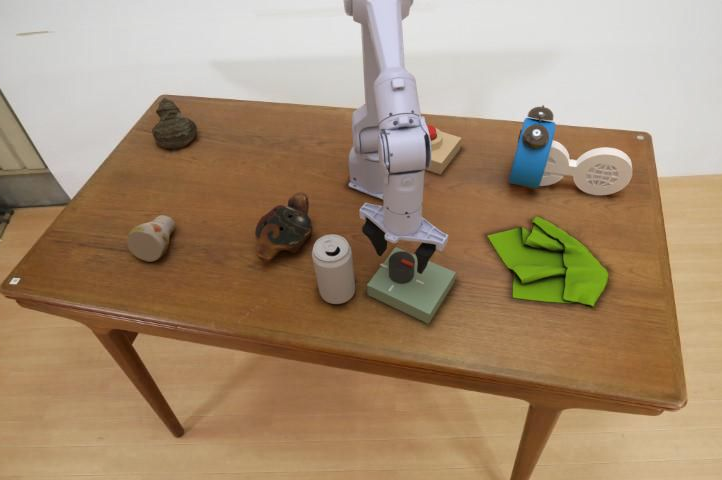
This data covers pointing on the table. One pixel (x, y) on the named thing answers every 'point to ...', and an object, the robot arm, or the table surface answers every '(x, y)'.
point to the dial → (401, 267)
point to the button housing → (443, 151)
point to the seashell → (172, 126)
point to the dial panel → (413, 289)
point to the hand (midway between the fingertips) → (401, 260)
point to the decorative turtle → (284, 228)
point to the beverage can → (334, 268)
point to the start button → (432, 132)
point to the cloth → (550, 265)
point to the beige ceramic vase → (151, 238)
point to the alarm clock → (533, 148)
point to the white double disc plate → (589, 169)
